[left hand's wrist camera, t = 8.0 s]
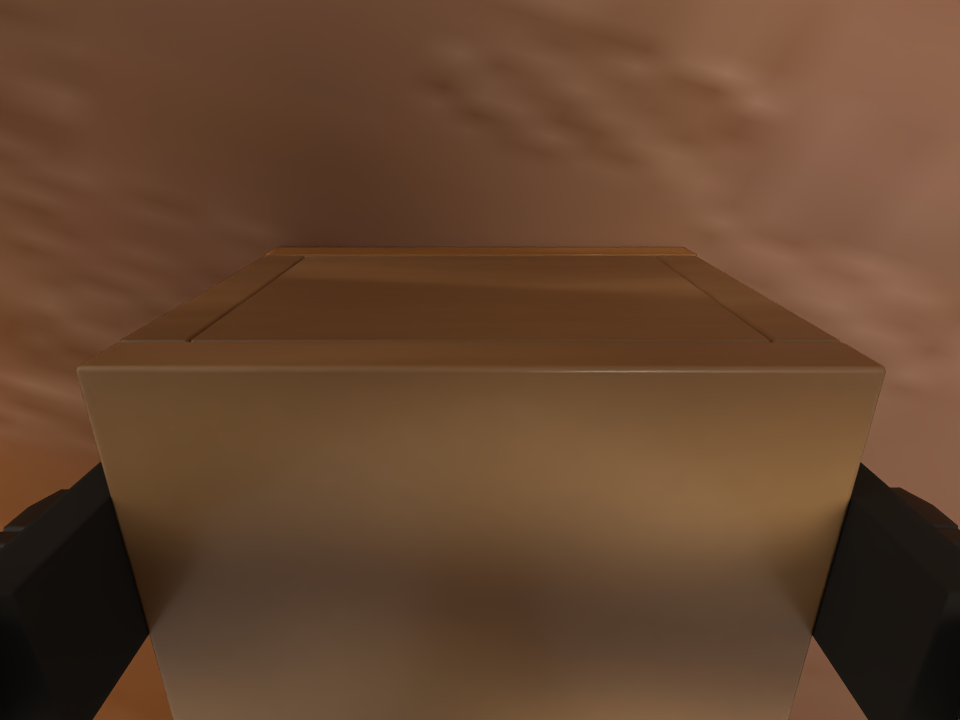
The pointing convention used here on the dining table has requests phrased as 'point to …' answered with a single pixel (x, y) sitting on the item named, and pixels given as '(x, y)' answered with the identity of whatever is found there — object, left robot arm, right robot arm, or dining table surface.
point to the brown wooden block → (480, 485)
